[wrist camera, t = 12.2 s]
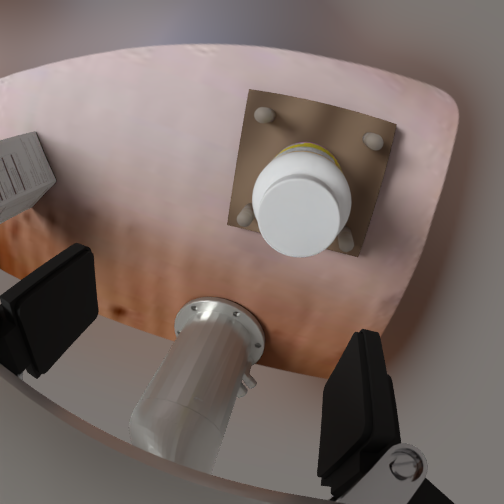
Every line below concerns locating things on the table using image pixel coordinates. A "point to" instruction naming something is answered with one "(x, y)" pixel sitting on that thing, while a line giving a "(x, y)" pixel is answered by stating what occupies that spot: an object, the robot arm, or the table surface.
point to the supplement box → (22, 174)
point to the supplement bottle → (301, 200)
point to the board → (319, 132)
